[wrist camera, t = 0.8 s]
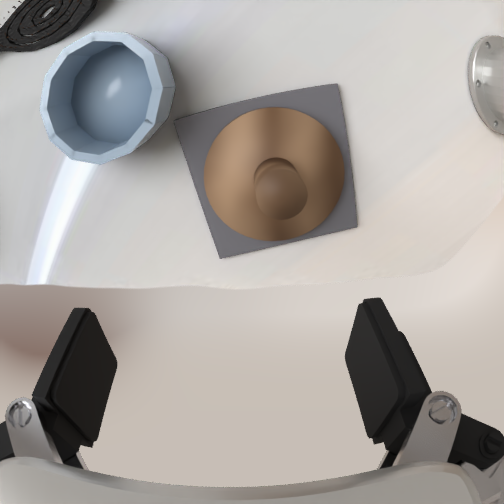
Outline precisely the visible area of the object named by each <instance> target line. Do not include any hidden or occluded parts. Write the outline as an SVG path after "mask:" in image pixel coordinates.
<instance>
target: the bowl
mask: <svg viewBox="0 0 504 504" xmlns="http://www.w3.org/2000/svg"><path fill="white" fill-rule="evenodd" d="M175 89H176V85H175V82H174V79H173V75H172V72H171V68H170V65H169V62H168V58H167V57H166V56H164V55H163V54H162V53H161V52H160V51H158V50H157V49H156V48H155V47H153V46H152V45H151V44H150V43H148V42H147V41H146V40H144V39H141V38H139V37H136V36H134V35H131V34H129V33H123V32H97V31H94V32H92V33H90V34H88V35H86V36H84V37H82V38H81V39H79V40H77V41H75V42H74V43H72V44H70V45H68V46H67V47H65V48H64V49H63V50H62V51H61V53H60V54H59V56H58V57H57V59H56V60H55V62H54V63H53V65H52V66H51V68H50V69H49V71H48V72H47V74H46V75H45V77H44V83H43V89H42V96H41V103H40V113H41V116H42V119H43V122H44V125H45V128H46V131H47V134H48V137H49V140H50V141H51V142H52V143H54V144H55V145H56V146H57V147H58V148H59V149H60V150H61V151H62V152H63V153H65V154H66V155H67V156H68V157H69V158H70V159H72V160H77V161H83V162H88V163H94V164H100V165H101V164H104V163H106V162H109V161H111V160H114V159H116V158H119V157H121V156H124V155H126V154H129V153H131V152H133V151H134V150H135V149H137V148H138V147H139V146H141V145H142V144H144V143H145V142H146V141H148V140H149V139H150V138H151V136H152V135H153V134H154V133H155V132H156V131H157V130H158V128H159V127H160V126H161V125H162V124H163V123H164V122H165V121H166V119H167V118H168V117H169V113H170V109H171V104H172V100H173V96H174V92H175Z"/></svg>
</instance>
